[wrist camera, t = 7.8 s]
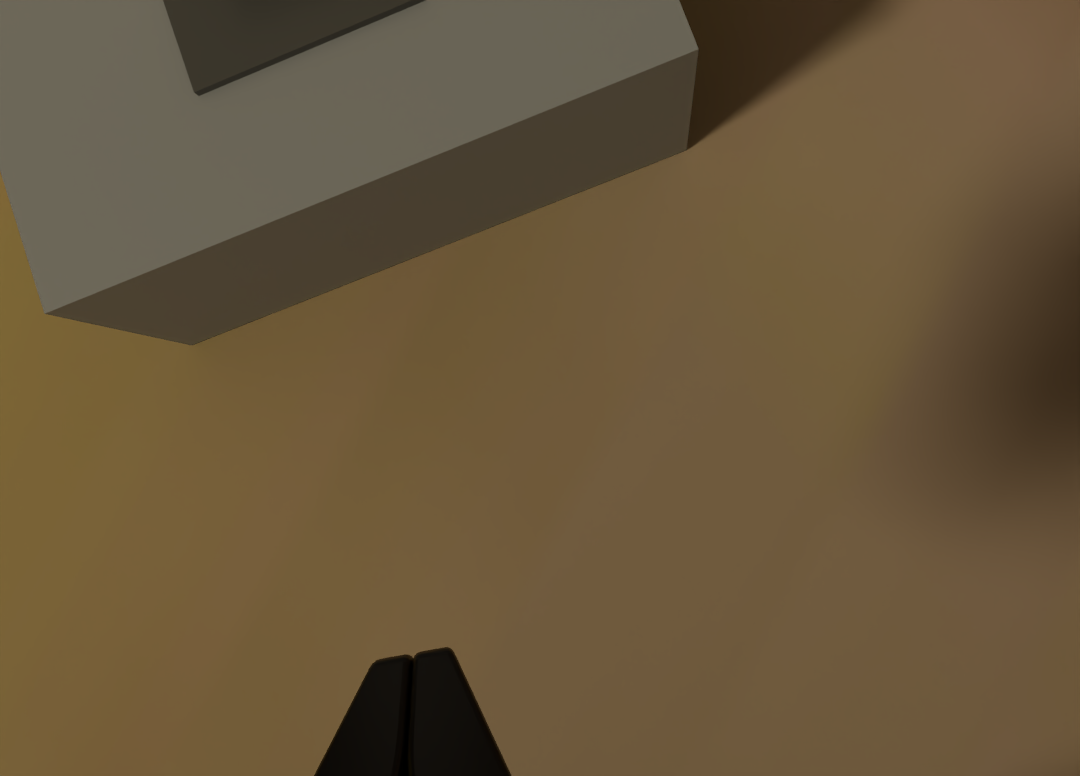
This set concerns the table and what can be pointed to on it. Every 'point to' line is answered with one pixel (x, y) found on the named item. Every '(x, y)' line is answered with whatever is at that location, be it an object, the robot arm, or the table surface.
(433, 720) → the robot arm
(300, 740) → the table surface
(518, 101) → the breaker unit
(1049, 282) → the table surface
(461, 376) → the table surface
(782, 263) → the table surface
